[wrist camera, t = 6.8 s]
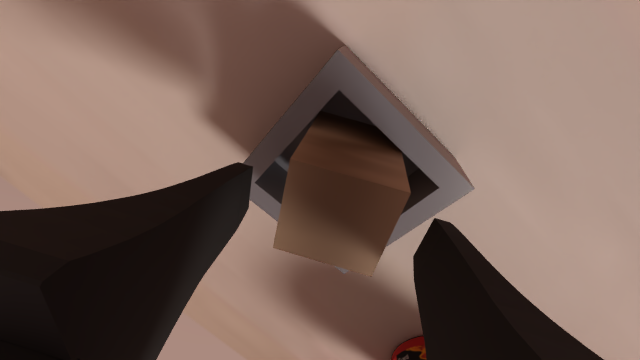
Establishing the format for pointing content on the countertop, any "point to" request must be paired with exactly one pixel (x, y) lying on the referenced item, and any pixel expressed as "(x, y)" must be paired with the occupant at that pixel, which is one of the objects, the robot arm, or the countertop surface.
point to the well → (371, 108)
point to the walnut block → (342, 194)
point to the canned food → (411, 350)
